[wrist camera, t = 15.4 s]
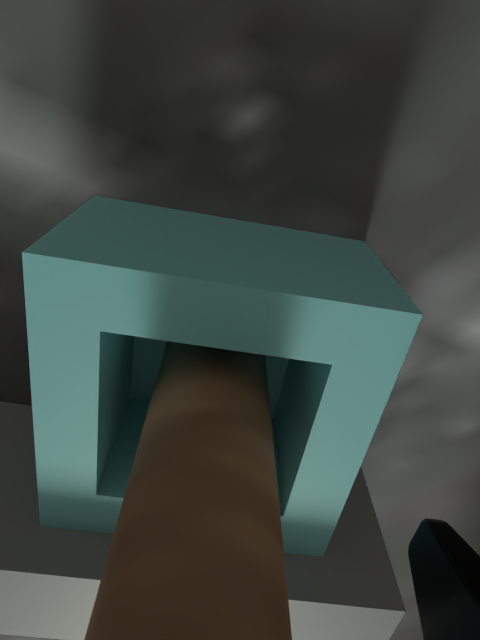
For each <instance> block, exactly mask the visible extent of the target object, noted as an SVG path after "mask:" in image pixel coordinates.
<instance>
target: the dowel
mask: <svg viewBox="0 0 480 640" xmlns="http://www.w3.org/2000/svg"><path fill="white" fill-rule="evenodd" d="M84 640H292V633H291V622H290V612H289V601H288V591H287V580H286V570H285V559H284V549H283V538H282V528H281V517H280V506H279V496H278V485H277V475H276V464H275V454H274V443H273V433H272V422H271V412H270V401H269V391H268V380H267V370H266V359H265V355H261V354H254V353H247V352H240V351H233V350H226V349H220V348H213V347H206V346H199V345H192V344H185V343H178V342H171V341H167V343H166V347H165V351H164V354H163V358H162V361H161V365H160V369H159V372H158V376H157V379H156V383H155V387H154V390H153V394H152V397H151V401H150V405H149V408H148V412H147V415H146V419H145V423H144V426H143V430H142V433H141V437H140V441H139V444H138V448H137V452H136V455H135V459H134V462H133V466H132V470H131V473H130V477H129V480H128V484H127V488H126V491H125V495H124V498H123V502H122V506H121V509H120V513H119V516H118V520H117V524H116V527H115V531H114V534H113V538H112V542H111V545H110V549H109V552H108V556H107V560H106V563H105V567H104V570H103V574H102V578H101V581H100V585H99V588H98V592H97V596H96V599H95V603H94V606H93V610H92V614H91V617H90V621H89V625H88V628H87V632H86V635H85V639H84Z"/></svg>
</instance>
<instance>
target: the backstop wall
mask: <svg viewBox="0 0 480 640" xmlns="http://www.w3.org/2000/svg"><path fill="white" fill-rule="evenodd" d="M112 538H113V534H108V533H99V532H90V531H81V530H72V529H62V528H53V527H44V526H40V518H39V503H38V488H37V473H36V458H35V443H34V428H33V413H32V405H25V404H18V403H10V402H3V401H0V634H7V635H18V636H28V637H39V638H50V639H61V640H84V639H85V635H86V632H87V628H88V625H89V621H90V617H91V614H92V610H93V606H94V603H95V599H96V596H97V592H98V588H99V585H100V581H101V578H102V574H103V570H104V567H105V563H106V560H107V556H108V552H109V549H110V545H111V542H112ZM284 559H285V570H286V580H287V591H288V601H289V612H290V622H291V633H292V640H389V639H390V637H391V635H392V634H393V632H394V630H395V629H396V627H397V626H398V624H399V622H400V621H401V619H402V617H403V616H404V614H405V613H406V610H405V607H404V604H403V601H402V597H401V594H400V591H399V588H398V585H397V581H396V578H395V575H394V572H393V568H392V565H391V562H390V559H389V556H388V552H387V549H386V546H385V543H384V539H383V536H382V533H381V530H380V527H379V523H378V520H377V517H376V514H375V510H374V507H373V504H372V501H371V498H370V494H369V491H368V488H367V485H366V481H365V478H364V475H363V472H362V469H361V466H360V469H359V471H358V473H357V476H356V478H355V481H354V483H353V486H352V488H351V490H350V493H349V495H348V498H347V500H346V503H345V505H344V507H343V510H342V512H341V515H340V517H339V519H338V522H337V524H336V527H335V529H334V532H333V534H332V536H331V539H330V541H329V544H328V546H327V549H326V551H325V553H324V556H323V557H319V556H310V555H301V554H292V553H284Z"/></svg>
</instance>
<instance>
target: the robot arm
mask: <svg viewBox="0 0 480 640" xmlns="http://www.w3.org/2000/svg"><path fill="white" fill-rule="evenodd" d="M408 555H409V561H410V567H411V573H412V578H413V584H414V590H415V595H416V601H417V606H418V612H419V618H420V623H421V629H422V633H423V638H424V640H480V556H479V555H478V554H477V553H476V552H475V551H474V550H473V549H472V548H471V547H470V546H469V545H468V544H467V543H466V542H465V541H464V539H463V538H462V537H461V536H460V535H459V534H458V533H457V532H456V531H455V530H454V529H453V528H452V527H451V526H450V525H449V524H448V523H446V522H445V521H442V520H436V519H424V520H423V521H422V522H421V523H420V525H419V527H418V529H417V531H416V532H415V534H414V536H413V538H412V540H411V541H410V544H409V549H408Z"/></svg>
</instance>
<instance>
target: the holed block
mask: <svg viewBox="0 0 480 640" xmlns="http://www.w3.org/2000/svg"><path fill="white" fill-rule="evenodd" d="M22 262H23V277H24V292H25V307H26V322H27V337H28V352H29V367H30V383H31V398H32V413H33V428H34V443H35V458H36V473H37V488H38V503H39V518H40V526H44V527H53V528H62V529H72V530H81V531H90V532H99V533H108V534H114V531H115V527H116V524H117V520H118V516H119V513H120V509H121V506H122V502H123V498H124V495H125V491H126V488H127V484H128V480H129V477H130V473H131V470H132V466H133V462H134V459H135V455H136V452H137V448H138V444H139V441H140V437H141V433H142V430H143V426H144V423H145V419H146V415H147V412H148V408H149V405H150V401H151V397H152V394H153V390H154V387H155V383H156V379H157V376H158V372H159V369H160V365H161V361H162V358H163V354H164V351H165V347H166V343H167V341H171V342H178V343H185V344H192V345H199V346H206V347H213V348H220V349H226V350H233V351H240V352H247V353H254V354H261V355H265V359H266V370H267V380H268V391H269V401H270V412H271V422H272V433H273V443H274V454H275V464H276V475H277V485H278V496H279V506H280V517H281V528H282V538H283V549H284V553H292V554H301V555H310V556H319V557H323V556H324V553H325V551H326V549H327V546H328V544H329V541H330V539H331V536H332V534H333V532H334V529H335V527H336V524H337V522H338V519H339V517H340V515H341V512H342V510H343V507H344V505H345V503H346V500H347V498H348V495H349V493H350V490H351V488H352V486H353V483H354V481H355V478H356V476H357V473H358V471H359V469H360V466H361V464H362V461H363V459H364V456H365V454H366V452H367V449H368V447H369V444H370V442H371V439H372V437H373V435H374V432H375V430H376V427H377V425H378V423H379V420H380V418H381V415H382V413H383V410H384V408H385V406H386V403H387V401H388V398H389V396H390V393H391V391H392V389H393V386H394V384H395V381H396V379H397V376H398V374H399V372H400V369H401V367H402V364H403V362H404V360H405V357H406V355H407V352H408V350H409V347H410V345H411V343H412V340H413V338H414V335H415V333H416V330H417V328H418V326H419V323H420V321H421V318H422V316H423V314H422V313H421V312H420V310H419V309H418V308H417V307H416V305H415V304H414V303H413V302H412V300H411V299H410V298H409V296H408V295H407V294H406V293H405V291H404V290H403V289H402V287H401V286H400V285H399V284H398V282H397V281H396V280H395V279H394V277H393V276H392V275H391V273H390V272H389V271H388V270H387V268H386V267H385V266H384V265H383V263H382V262H381V261H380V259H379V258H378V257H377V256H376V254H375V253H374V252H373V250H372V249H371V248H370V247H369V245H368V244H367V243H366V242H365V241H361V240H355V239H349V238H343V237H337V236H331V235H325V234H319V233H313V232H307V231H301V230H296V229H290V228H284V227H278V226H272V225H266V224H260V223H254V222H248V221H242V220H236V219H230V218H224V217H219V216H213V215H207V214H201V213H195V212H189V211H183V210H177V209H171V208H165V207H159V206H153V205H147V204H142V203H136V202H130V201H124V200H118V199H112V198H106V197H100V196H93V197H92V198H91V199H89V200H88V201H87V202H86V203H84V204H83V205H82V206H80V207H79V208H78V209H77V210H75V211H74V212H73V213H71V214H70V215H69V216H68V217H66V218H65V219H64V220H62V221H61V222H60V223H59V224H57V225H56V226H55V227H54V228H52V229H51V230H50V231H48V232H47V233H46V234H45V235H43V236H42V237H41V238H39V239H38V240H37V241H36V242H34V243H33V244H32V245H30V246H29V247H28V248H27V249H25V250H24V251H23V252H22Z"/></svg>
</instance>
